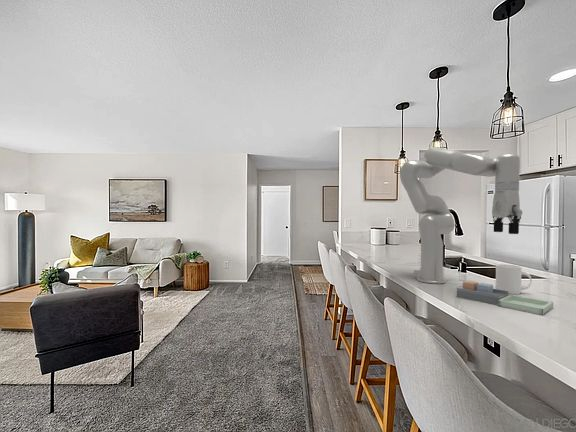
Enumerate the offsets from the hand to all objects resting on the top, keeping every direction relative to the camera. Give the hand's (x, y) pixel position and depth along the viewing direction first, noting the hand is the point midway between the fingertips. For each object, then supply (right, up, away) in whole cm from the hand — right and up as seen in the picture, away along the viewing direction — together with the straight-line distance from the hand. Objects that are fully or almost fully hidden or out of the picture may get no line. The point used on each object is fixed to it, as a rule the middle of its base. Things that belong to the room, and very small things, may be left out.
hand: (505, 232), depth 119 cm
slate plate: (-10, -25, -1) cm, 27 cm away
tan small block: (-12, -22, +2) cm, 25 cm away
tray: (-1, -25, -12) cm, 27 cm away
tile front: (-9, -22, -2) cm, 24 cm away
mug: (+9, -25, +9) cm, 28 cm away
